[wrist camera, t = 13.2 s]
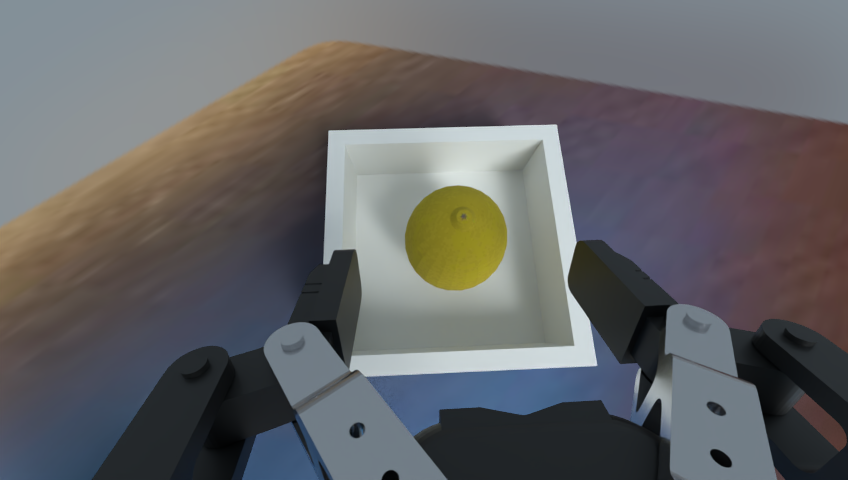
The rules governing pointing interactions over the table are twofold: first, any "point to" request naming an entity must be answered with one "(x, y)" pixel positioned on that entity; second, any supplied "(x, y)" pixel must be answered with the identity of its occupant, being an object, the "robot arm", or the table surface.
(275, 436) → the table surface
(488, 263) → the lemon
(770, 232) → the table surface
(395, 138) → the white bin
